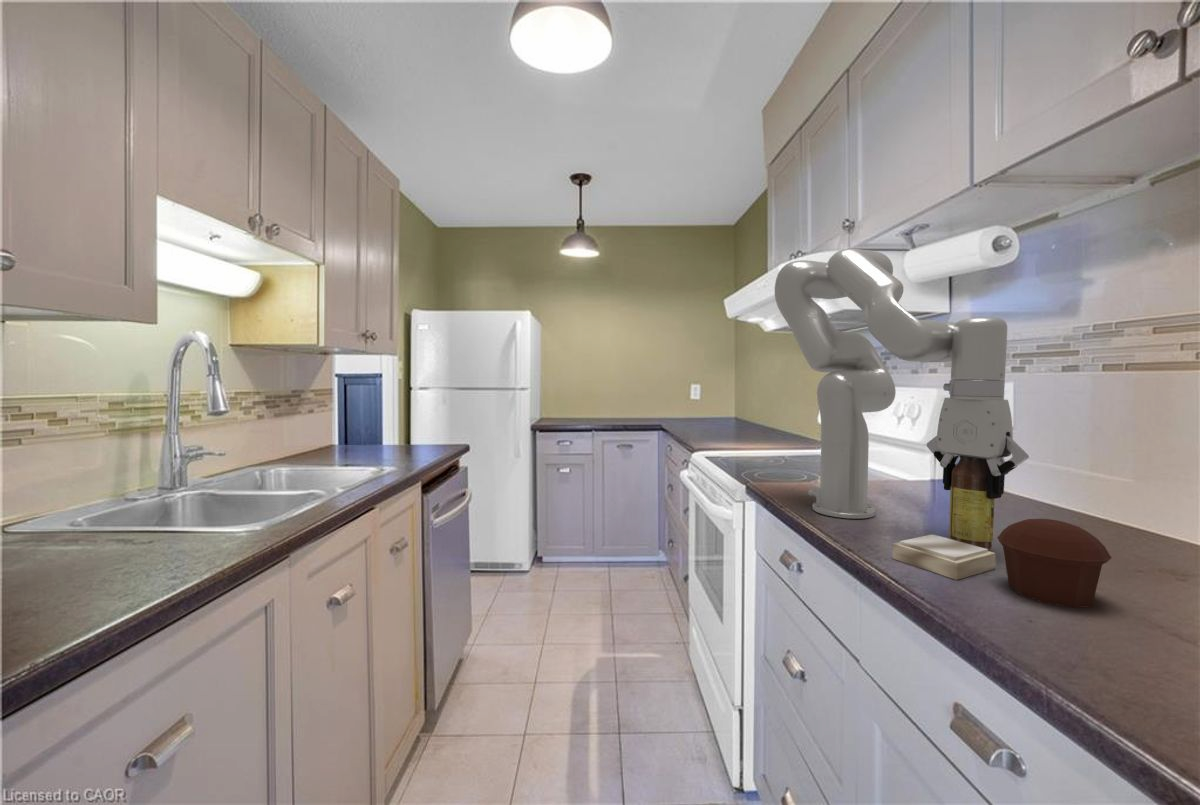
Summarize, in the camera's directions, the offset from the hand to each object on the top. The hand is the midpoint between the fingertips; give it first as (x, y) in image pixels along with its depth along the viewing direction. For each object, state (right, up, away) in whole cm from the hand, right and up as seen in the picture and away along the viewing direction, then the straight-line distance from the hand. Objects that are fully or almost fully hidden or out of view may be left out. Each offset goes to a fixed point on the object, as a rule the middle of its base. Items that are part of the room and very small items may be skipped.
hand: (971, 492), depth 89 cm
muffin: (-3, -11, -18) cm, 21 cm away
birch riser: (-10, -10, -7) cm, 16 cm away
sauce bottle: (0, -10, +1) cm, 10 cm away
